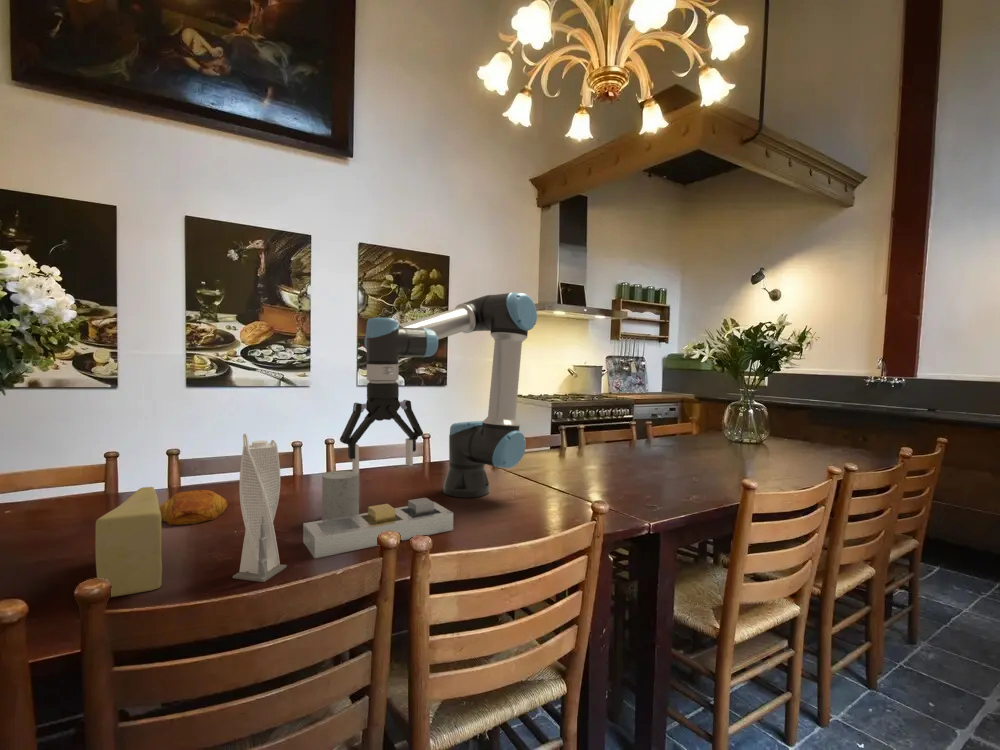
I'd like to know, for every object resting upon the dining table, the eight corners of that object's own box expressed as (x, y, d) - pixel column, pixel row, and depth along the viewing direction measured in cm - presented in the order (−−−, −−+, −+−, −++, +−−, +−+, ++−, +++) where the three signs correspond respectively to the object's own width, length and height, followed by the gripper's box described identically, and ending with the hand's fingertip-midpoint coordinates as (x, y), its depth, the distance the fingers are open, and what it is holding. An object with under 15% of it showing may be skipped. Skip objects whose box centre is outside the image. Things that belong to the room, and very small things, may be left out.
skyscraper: (226, 577, 97) (226, 436, 96) (254, 560, 105) (254, 430, 104) (264, 582, 95) (264, 438, 94) (290, 564, 103) (290, 432, 102)
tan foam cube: (367, 526, 121) (368, 506, 121) (387, 523, 124) (387, 503, 124) (375, 533, 117) (375, 512, 117) (395, 529, 120) (395, 508, 120)
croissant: (168, 519, 136) (163, 491, 135) (231, 507, 141) (226, 479, 141) (151, 536, 122) (146, 505, 122) (222, 521, 128) (217, 491, 127)
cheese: (122, 555, 106) (122, 486, 106) (176, 548, 111) (175, 482, 110) (94, 601, 87) (93, 517, 86) (161, 590, 91) (160, 510, 91)
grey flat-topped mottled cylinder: (324, 528, 125) (324, 480, 125) (319, 516, 134) (319, 472, 133) (362, 522, 130) (362, 476, 129) (355, 512, 138) (355, 469, 138)
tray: (303, 542, 116) (303, 512, 115) (433, 518, 135) (434, 492, 134) (314, 558, 107) (314, 526, 106) (453, 530, 126) (453, 503, 125)
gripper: (334, 384, 109) (335, 478, 110) (436, 381, 123) (436, 464, 124) (325, 382, 115) (327, 471, 116) (423, 379, 129) (423, 459, 130)
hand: (383, 468), depth 120 cm, fingers open, 13 cm apart
